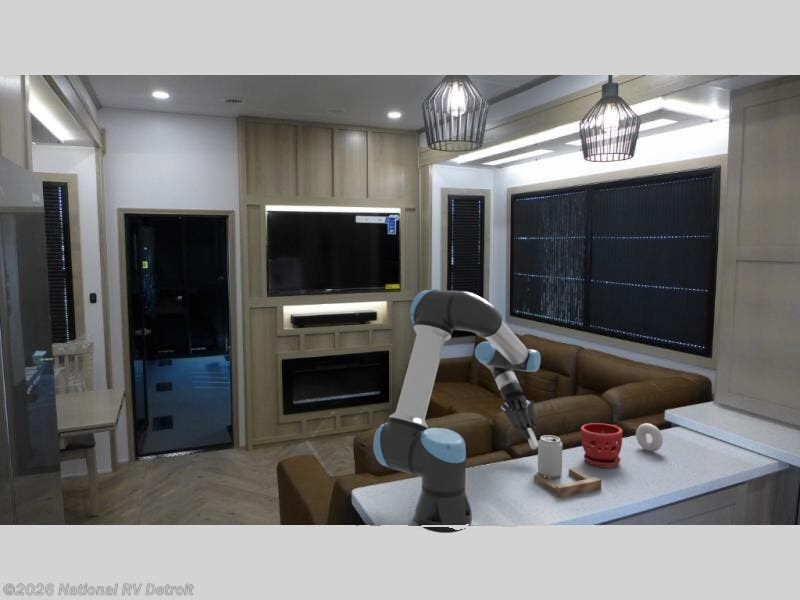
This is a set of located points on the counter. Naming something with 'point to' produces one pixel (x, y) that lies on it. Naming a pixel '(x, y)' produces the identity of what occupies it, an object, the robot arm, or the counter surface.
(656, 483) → the counter surface
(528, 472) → the counter surface
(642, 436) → the donut
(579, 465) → the counter surface
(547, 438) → the can
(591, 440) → the plant pot
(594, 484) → the walnut frame
